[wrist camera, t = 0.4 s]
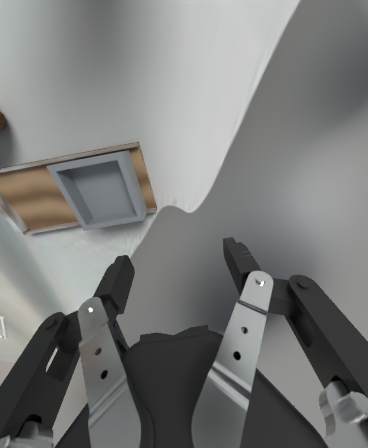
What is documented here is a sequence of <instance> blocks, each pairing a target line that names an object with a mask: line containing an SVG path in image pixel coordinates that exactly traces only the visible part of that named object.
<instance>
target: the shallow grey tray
mask: <svg viewBox="0 0 368 448" xmlns="http://www.w3.org/2000/svg"><path fill="white" fill-rule="evenodd" d="M46 167H47V169H48V170H49V172H50V174H51V175H52V177H53V179H54V181H55V182H56V184H57V186H58V187H59V189H60V191H61V192H62V194H63V196H64V198H65V199H66V201H67V203H68V204H69V206H70V208H71V210H72V211H73V213H74V215H75V216H76V218H77V220H78V222H79V223H80V225H81V227H82V228H83V230H84V231H85V230H91V229H96V228H102V227H108V226H114V225H119V224H125V223H131V222H137V221H142V220H144V219H145V217H146V214H147V208H146V204H145V201H144V198H143V195H142V192H141V188H140V185H139V182H138V179H137V176H136V173H135V169H134V166H133V163H132V160H131V157H130V153H129V150H127V151H122V152H116V153H111V154H106V155H100V156H95V157H90V158H85V159H79V160H74V161H69V162H64V163H59V164H54V165H49V166H46Z"/></svg>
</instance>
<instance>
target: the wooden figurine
mask: <svg viewBox="0 0 368 448" xmlns="http://www.w3.org/2000/svg"><path fill="white" fill-rule="evenodd" d="M3 128H4V118H3V116H2V114H1V112H0V130H2V129H3Z"/></svg>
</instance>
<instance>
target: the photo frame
mask: <svg viewBox="0 0 368 448" xmlns="http://www.w3.org/2000/svg"><path fill="white" fill-rule="evenodd" d="M0 319H1V323H2V329H3V334H4V337H2V336H0V338H2V339H7V338H8V336H7V330H6V324H5V318H4V317H0Z"/></svg>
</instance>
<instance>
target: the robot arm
mask: <svg viewBox="0 0 368 448" xmlns="http://www.w3.org/2000/svg"><path fill="white" fill-rule="evenodd" d="M223 250H224V258H225V261H226V263H227V266H228V268H229V270H230V273H231V275H232V278H233V280H234V283H235V285H236V288H237V290H238V293H239V295H240V296H241V298H240V300H239V301H237V303H236V305H235V308H234V311H233V313H232V316H231V318H230V321H229V324H228V327H227V329H226V332H225V335H224V336H223V335H221V334H219V333H217V332H214V331H210V330H208V325H205V326H198V327H191V328H189V329H187V330H184V331H182V332H180V333H178V334H176V335H168V334H162V333H151V334H145V335H141V336H140V341H139V342H137V343H136V344H134V345H133V346H131V347H130V348H129V346H128V345H127V343H126V341H125V339H124V336H123V334H122V331H121V329H120V327H119V325H118V322H117V320H116V317H117V315H118V314H123V313H124V309H125V306H126V303H127V299H128V295H129V292H130V288H131V285H132V281H133V278H134V274H135V272H134V267H133V265H132V263H131V261H130V259H129V257H128V255H124V256H118V257H117V258H116V260H115V262H114V264H111V265H110V266H109V267H108V268H107V270H106V272H105V274H104V276H103V278H102V280H101V282H100V284H99V286H98V288H97V290H96V292H95V294H94V296H93V298H90V299H88V300H87V301H85V302H84V303H83V304H82V305H81V307H80V308H79V310H78V311H75V312H73V313H71V314H69V315H65V314H63V313H62V312H57V313H55V314H53V315H51V316H49V317H48V318H47V319H46V320H45V321H44V322H43V323H42V324H41V325H40V327H39V328H38V330H37V331H36V333H35V334H34V336H33V337H32V339H31V340H30V342H29V343H28V345H27V346H26V348H25V349H24V351H23V352H22V354H21V356H20V357H19V359H18V360H17V362H16V363H15V365H14V366H13V368H12V369H11V371H10V372H9V374H8V376H7V377H6V378H5V380H4V381H3V383H2V384H1V386H0V448H54V445H53V443H52V441H53V430H52V427H53V425H54V422H55V420H56V417H57V414H58V412H59V409H60V406H61V404H62V401H63V399H64V396H65V393H66V391H67V388H68V386H69V383H70V380H71V378H72V375H73V373H74V370H75V367H76V365H77V362H78V360H79V357H81V362H82V369H83V375H84V381H85V387H86V393H87V398H88V403H87V404H86V405H85V407H84V408H83V409H82V411H81V412H80V414H79V415H78V416H77V418H76V419H75V420H74V422H73V423H72V424H71V426H70V427H69V429H68V430H67V431H66V433H65V434H64V435H63V437H62V438H61V439H60V441H59V442H58V444H57V445H56V446H55V448H368V342H367V341H366V339H365V338H364V337H363V336H362V335H361V334H360V332H359V331H358V330H357V329H356V328H355V327H354V326H353V324H352V323H351V322H350V321H349V320H348V319H347V318H346V316H345V315H344V314H343V313H342V312H341V311H340V310H339V309H338V307H337V306H336V305H335V304H334V303H333V302H332V301H331V299H329V297H328V296H327V295H326V294H325V293H324V291H323V290H322V289H321V288H320V287H319V286H318V285H317V283H316V282H314V281H313V280H312V279H310V278H308V277H306V276H302V275H294V276H291V277H290V279H289V280H281V279H274V278H272V277H271V276H269V275H268V274H267V273H265V272H263V271H262V270H261V269H260V267H259V265H258V264H257V262H256V261H255V259H254V258H253V256H252V255H251V253H250V252H249V250H248V248H247V247H246V246H245V245H244V244H242V243H241V242H239V243H236V242H235V240H234V238H233V237H230V238H224V239H223ZM267 312H269V313H274V314H280V315H284V316H285V318H286V320H287V321H288V323H289V325H290V327H291V329H292V331H293V332H294V334H295V336H296V338H297V340H298V341H299V343H300V345H301V347H302V349H303V351H304V352H305V354H306V356H307V358H308V360H309V361H310V363H311V365H312V367H313V369H314V371H315V373H316V374H317V376H318V378H319V380H320V382H321V383H322V385H323V387H324V390H323V391H322V392H321V393H320V395H319V405H320V409H321V411H322V414H323V416H324V419H325V423H326V436H325V438H324V440H323V438H322V437H321V435H320V434H319V433H318V432H317V430H316V429H315V428H314V427H313V426H312V425H311V423H310V422H309V421H308V420H307V419H306V418H305V417H304V416H303V415H302V414H301V413H300V412H299V411H298V410H297V409H296V408H295V407H294V406H293V405H292V404H291V403H290V402H289V401H288V400H287V399H286V398H285V397H284V396H283V395H282V394H281V393H280V392H279V390H278V389H276V387H275V386H274V385H273V384H272V383H271V382H270V381H269V380H268V379H267V378H266V377H265V376H264V375H263V374H262V373H261V372H260V371H259V370H258V369H257V368H256V366H257V361H258V356H259V351H260V346H261V341H262V336H263V332H264V327H265V322H266V317H267ZM55 348H57V349H58V351H57V353H56V355H55V357H54V359H53V361H52V363H51V365H50V367H49V369H48V371H47V373H46V367H47V364H48V362H49V360H50V358H51V356H52V354H53V352H54V350H55Z"/></svg>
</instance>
